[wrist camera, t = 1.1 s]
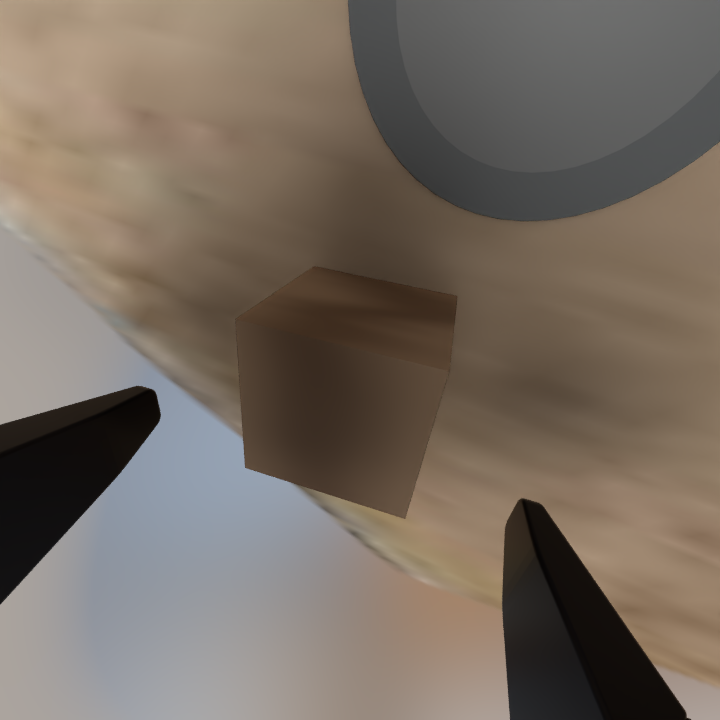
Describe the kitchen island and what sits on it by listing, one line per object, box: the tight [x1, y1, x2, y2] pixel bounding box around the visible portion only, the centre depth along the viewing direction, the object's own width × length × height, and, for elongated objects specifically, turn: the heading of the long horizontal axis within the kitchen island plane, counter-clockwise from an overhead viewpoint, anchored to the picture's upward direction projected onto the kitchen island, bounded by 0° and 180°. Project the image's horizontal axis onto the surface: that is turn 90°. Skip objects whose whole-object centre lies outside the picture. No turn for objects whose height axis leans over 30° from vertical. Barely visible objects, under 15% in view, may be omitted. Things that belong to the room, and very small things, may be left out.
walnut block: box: [235, 267, 457, 519], centre depth 11 cm, size 5×5×5 cm
